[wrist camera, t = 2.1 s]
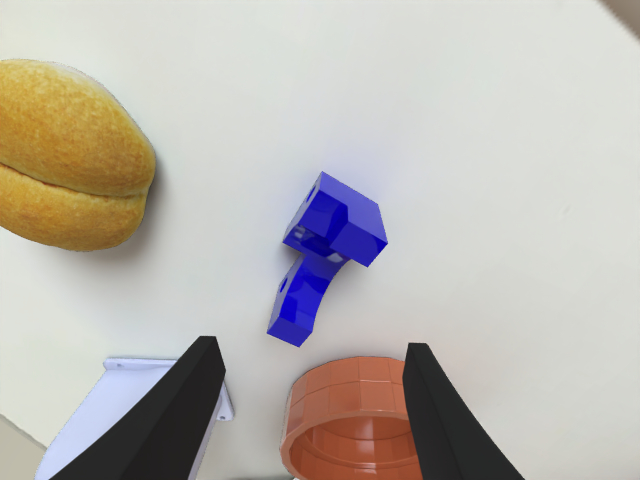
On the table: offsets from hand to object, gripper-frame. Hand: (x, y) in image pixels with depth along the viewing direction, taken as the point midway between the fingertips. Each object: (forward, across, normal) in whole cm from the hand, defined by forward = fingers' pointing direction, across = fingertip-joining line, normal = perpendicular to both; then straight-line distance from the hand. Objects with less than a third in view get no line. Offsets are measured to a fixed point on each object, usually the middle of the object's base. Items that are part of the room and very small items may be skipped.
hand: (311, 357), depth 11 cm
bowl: (+8, -4, +16) cm, 18 cm away
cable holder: (+8, 0, 0) cm, 8 cm away
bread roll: (+8, +12, -5) cm, 16 cm away
